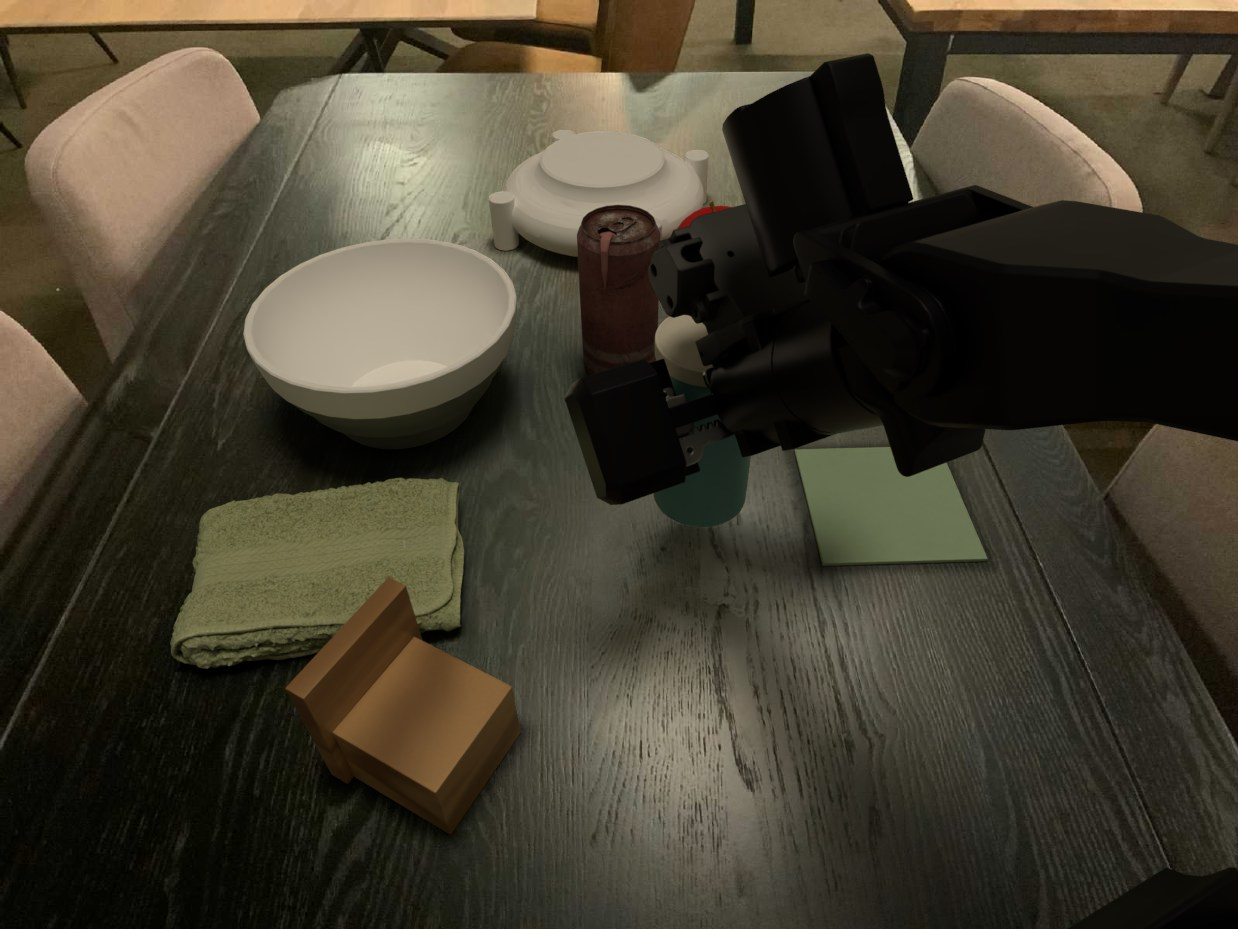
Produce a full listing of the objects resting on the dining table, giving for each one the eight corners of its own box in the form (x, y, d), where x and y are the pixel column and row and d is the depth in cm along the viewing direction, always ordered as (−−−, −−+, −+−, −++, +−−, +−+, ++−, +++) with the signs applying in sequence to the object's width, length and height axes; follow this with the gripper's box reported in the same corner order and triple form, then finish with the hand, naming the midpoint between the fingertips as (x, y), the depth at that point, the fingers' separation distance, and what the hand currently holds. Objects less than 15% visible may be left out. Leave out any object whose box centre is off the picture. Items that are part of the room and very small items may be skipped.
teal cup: (763, 514, 53) (787, 358, 44) (673, 539, 51) (680, 383, 43) (723, 451, 57) (738, 297, 48) (638, 473, 55) (638, 318, 47)
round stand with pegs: (536, 308, 79) (529, 238, 74) (460, 195, 94) (451, 132, 89) (761, 250, 86) (769, 182, 81) (656, 154, 101) (657, 92, 96)
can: (577, 394, 70) (567, 241, 60) (591, 347, 74) (585, 198, 64) (650, 402, 69) (653, 248, 59) (660, 354, 74) (665, 203, 64)
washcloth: (471, 639, 53) (464, 608, 51) (175, 684, 51) (154, 654, 49) (463, 489, 62) (456, 457, 60) (211, 522, 60) (195, 490, 58)
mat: (986, 561, 57) (988, 558, 57) (822, 566, 57) (823, 563, 57) (938, 448, 65) (939, 445, 65) (793, 452, 65) (794, 449, 65)
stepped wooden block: (526, 725, 49) (510, 636, 43) (445, 844, 44) (413, 763, 38) (418, 668, 52) (388, 576, 45) (331, 774, 47) (284, 688, 41)
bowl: (542, 336, 76) (533, 240, 69) (507, 498, 62) (492, 396, 55) (325, 330, 77) (296, 234, 70) (243, 487, 63) (197, 386, 56)
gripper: (950, 138, 39) (785, 245, 53) (568, 232, 33) (503, 321, 48) (1023, 374, 39) (839, 414, 54) (657, 506, 33) (565, 510, 48)
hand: (693, 410), depth 51 cm, fingers closed on teal cup, 6 cm apart
